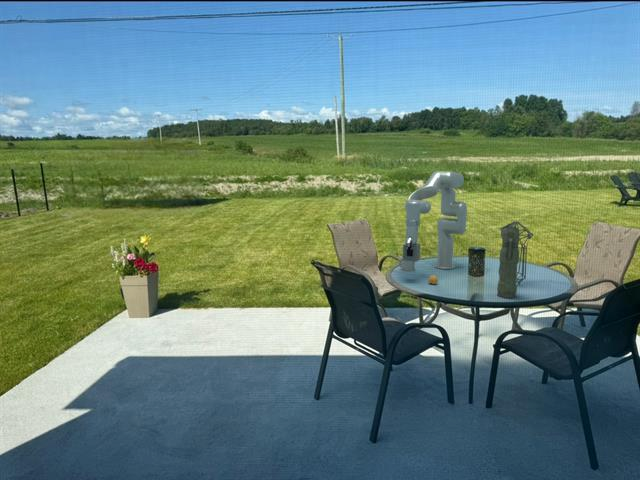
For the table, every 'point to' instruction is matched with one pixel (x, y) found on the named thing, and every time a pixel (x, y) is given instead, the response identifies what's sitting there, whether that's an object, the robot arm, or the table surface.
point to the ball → (433, 279)
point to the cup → (407, 265)
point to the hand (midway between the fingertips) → (411, 254)
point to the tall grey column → (508, 263)
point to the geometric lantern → (518, 247)
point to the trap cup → (415, 253)
